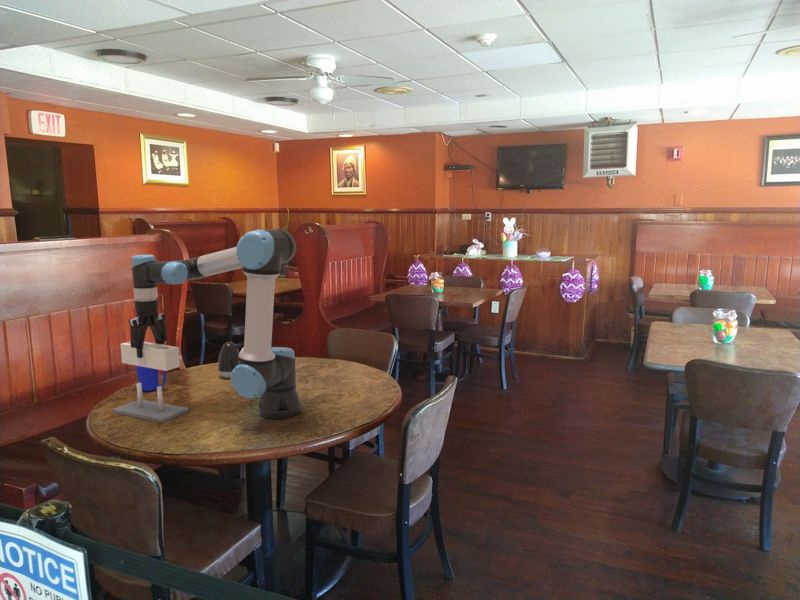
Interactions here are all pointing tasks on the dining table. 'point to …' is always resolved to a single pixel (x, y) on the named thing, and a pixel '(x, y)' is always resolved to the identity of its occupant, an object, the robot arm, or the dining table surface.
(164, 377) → the mug
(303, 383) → the dining table surface
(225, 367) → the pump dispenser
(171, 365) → the white slotted block
